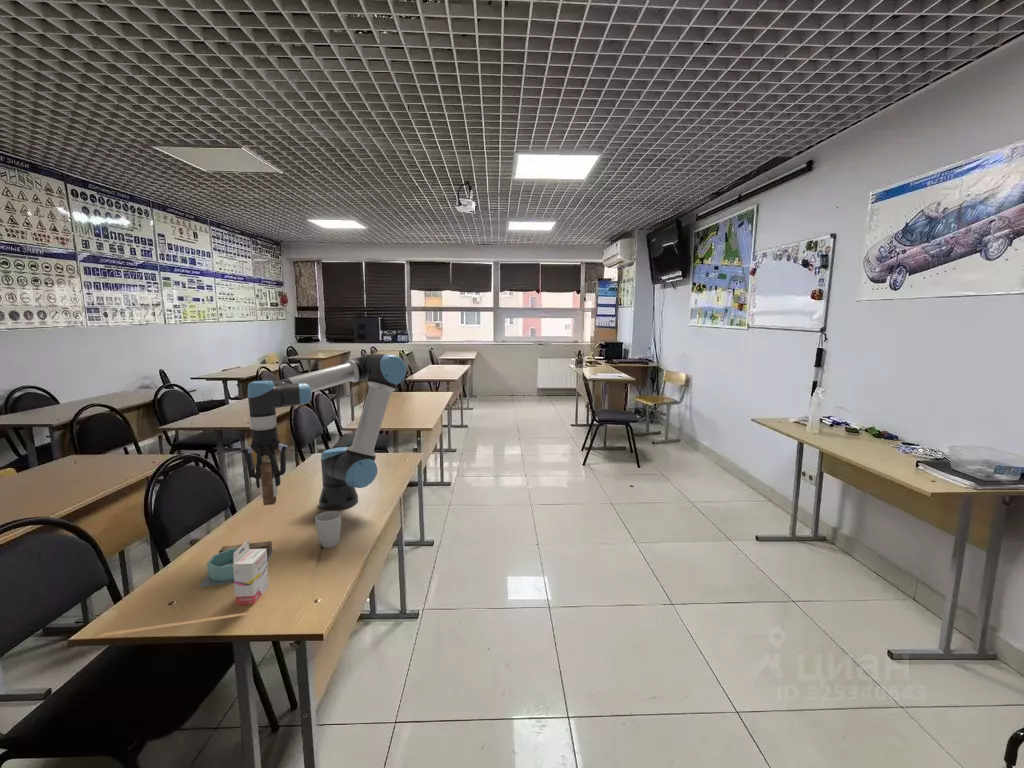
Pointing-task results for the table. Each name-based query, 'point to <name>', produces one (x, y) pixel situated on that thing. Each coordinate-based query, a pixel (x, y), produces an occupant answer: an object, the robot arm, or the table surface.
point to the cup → (328, 528)
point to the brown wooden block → (267, 483)
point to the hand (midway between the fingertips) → (269, 495)
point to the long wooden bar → (251, 546)
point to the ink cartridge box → (249, 574)
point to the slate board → (210, 582)
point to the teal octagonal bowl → (222, 566)
